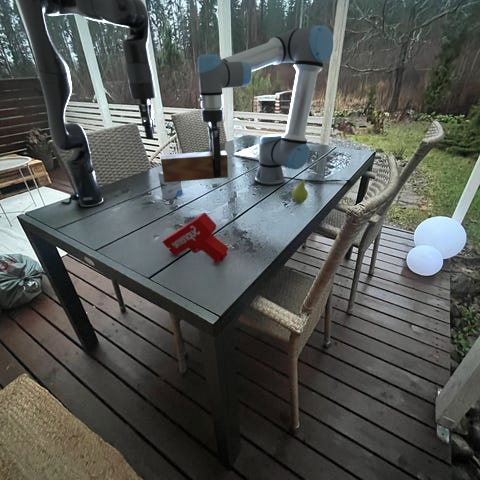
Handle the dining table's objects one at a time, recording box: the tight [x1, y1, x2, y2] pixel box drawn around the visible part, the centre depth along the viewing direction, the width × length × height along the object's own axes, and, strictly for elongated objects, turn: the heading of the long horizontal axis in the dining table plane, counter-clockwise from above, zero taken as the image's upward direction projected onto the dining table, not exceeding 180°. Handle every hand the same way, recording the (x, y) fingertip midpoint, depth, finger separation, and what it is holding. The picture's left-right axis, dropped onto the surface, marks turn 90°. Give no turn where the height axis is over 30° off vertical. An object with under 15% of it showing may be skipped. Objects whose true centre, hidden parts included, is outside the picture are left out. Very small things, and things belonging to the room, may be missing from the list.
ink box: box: [157, 171, 184, 200], centre depth 125 cm, size 8×5×12 cm, turn 135°
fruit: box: [291, 174, 311, 204], centre depth 118 cm, size 7×8×12 cm
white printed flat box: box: [233, 143, 260, 161], centre depth 184 cm, size 27×35×5 cm
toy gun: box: [162, 212, 230, 264], centre depth 85 cm, size 18×4×15 cm
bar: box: [160, 150, 229, 183], centre depth 103 cm, size 24×6×9 cm, turn 102°
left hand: (150, 136), depth 92 cm, fingers open, 8 cm apart
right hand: (216, 173), depth 106 cm, fingers closed on bar, 6 cm apart
